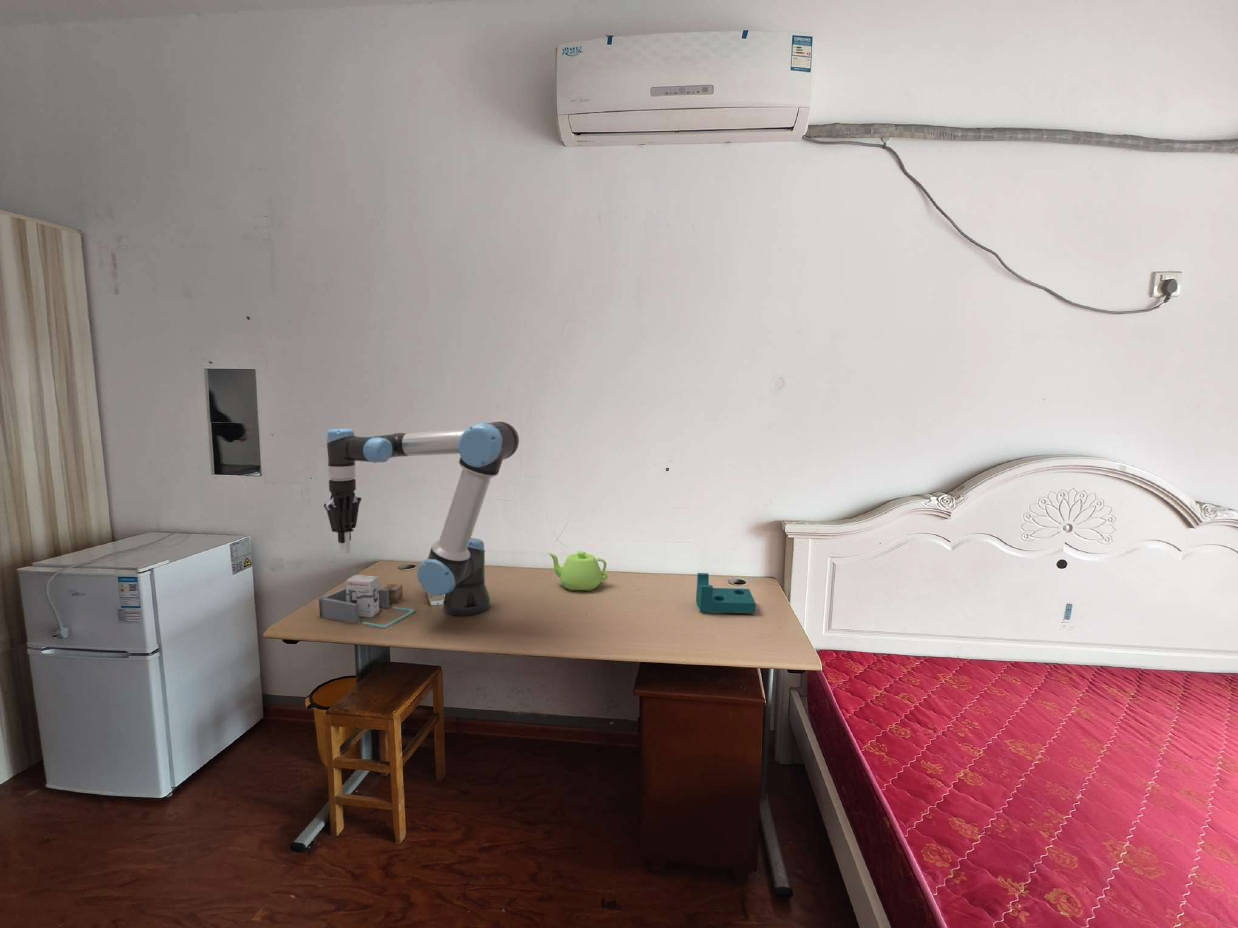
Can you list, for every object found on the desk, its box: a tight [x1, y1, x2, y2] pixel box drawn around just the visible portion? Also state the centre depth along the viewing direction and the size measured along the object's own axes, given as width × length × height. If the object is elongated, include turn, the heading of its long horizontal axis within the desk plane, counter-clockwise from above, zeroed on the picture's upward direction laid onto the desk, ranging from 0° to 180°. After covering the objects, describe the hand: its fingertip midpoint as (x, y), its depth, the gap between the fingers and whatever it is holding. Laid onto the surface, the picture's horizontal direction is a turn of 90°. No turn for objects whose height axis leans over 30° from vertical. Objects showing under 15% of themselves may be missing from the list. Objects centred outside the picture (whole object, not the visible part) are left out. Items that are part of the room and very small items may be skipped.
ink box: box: [345, 574, 380, 618], centre depth 180 cm, size 9×5×12 cm, turn 85°
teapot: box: [547, 550, 608, 592], centre depth 209 cm, size 22×15×13 cm
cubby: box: [318, 586, 390, 625], centre depth 182 cm, size 14×14×6 cm
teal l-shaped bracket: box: [695, 572, 757, 614], centre depth 191 cm, size 18×11×10 cm, turn 90°
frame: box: [362, 606, 417, 630], centre depth 178 cm, size 8×14×1 cm, turn 161°
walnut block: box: [382, 583, 404, 605], centre depth 192 cm, size 5×5×5 cm
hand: (345, 551), depth 180 cm, fingers closed
